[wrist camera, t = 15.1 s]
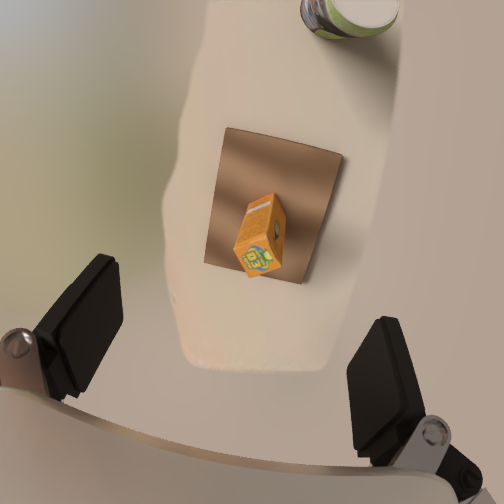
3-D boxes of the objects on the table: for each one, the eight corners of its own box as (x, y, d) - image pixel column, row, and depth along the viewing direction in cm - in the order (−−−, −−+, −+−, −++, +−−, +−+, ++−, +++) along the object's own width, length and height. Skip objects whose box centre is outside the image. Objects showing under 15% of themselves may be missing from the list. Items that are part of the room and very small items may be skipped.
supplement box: (245, 203, 33) (229, 247, 25) (274, 190, 32) (270, 231, 24) (258, 229, 35) (248, 280, 26) (287, 218, 34) (287, 266, 25)
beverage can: (330, -19, 21) (352, -68, 11) (379, 31, 24) (426, 6, 13) (285, 11, 24) (285, -31, 13) (335, 62, 26) (363, 46, 16)
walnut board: (227, 127, 30) (225, 128, 30) (340, 154, 31) (342, 155, 30) (205, 258, 38) (203, 262, 37) (301, 279, 38) (301, 284, 38)
